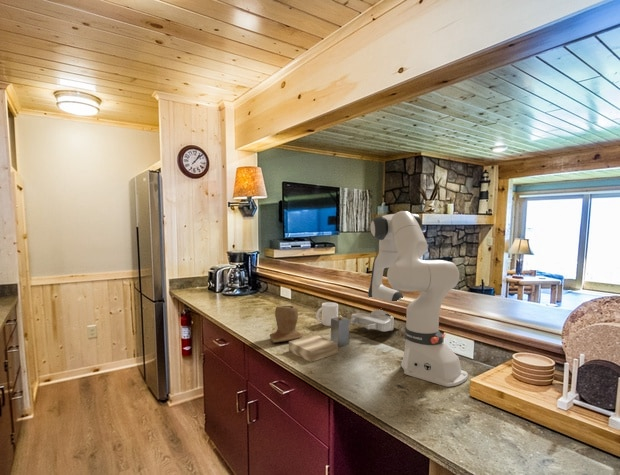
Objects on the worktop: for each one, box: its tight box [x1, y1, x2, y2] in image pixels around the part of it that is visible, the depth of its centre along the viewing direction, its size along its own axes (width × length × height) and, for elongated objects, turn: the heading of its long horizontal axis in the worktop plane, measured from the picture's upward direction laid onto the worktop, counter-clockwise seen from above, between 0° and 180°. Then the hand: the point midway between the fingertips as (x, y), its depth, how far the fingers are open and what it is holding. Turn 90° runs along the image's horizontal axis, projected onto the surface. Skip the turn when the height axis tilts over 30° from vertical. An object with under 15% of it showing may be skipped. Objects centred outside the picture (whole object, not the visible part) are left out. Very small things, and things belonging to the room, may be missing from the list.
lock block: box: [330, 314, 350, 348], centre depth 150 cm, size 5×6×12 cm
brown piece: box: [269, 305, 303, 344], centre depth 156 cm, size 15×12×15 cm
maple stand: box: [288, 334, 339, 363], centre depth 141 cm, size 14×14×4 cm
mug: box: [315, 301, 339, 327], centre depth 177 cm, size 12×8×10 cm
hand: (358, 324), depth 157 cm, fingers open, 8 cm apart
